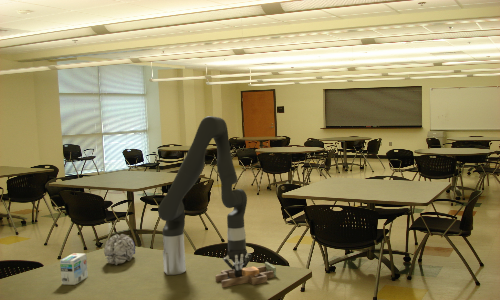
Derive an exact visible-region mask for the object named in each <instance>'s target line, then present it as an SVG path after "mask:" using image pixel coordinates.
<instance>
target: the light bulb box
mask: <svg viewBox="0 0 500 300" xmlns="http://www.w3.org/2000/svg"><path fill="white" fill-rule="evenodd" d="M87 259H88V257H87V253H81V252H80V253H76V252H75V253H74V252H73V253H71V254H70V255H68V256H65V257H64V258H61V259H60V260H59V265H60V266H59V267H60V278H61V285H69V286H71V285H74V286H75V285H77V284H79V283H80V282H82V281H84V280H85V279H87V278H89V276H88V275H89V273H88V261H87Z"/></svg>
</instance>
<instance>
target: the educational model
mask: <svg viewBox="0 0 500 300" xmlns="http://www.w3.org/2000/svg"><path fill="white" fill-rule="evenodd" d="M104 245H105V246H104V250H103V253H104V256H105V257H106V258H105V259H106V260H107V261H106V262H107V263H108V264H111V265H113V264H114V265H116V266H117V265H118V264H119V265H120V264H124V263H125V262H126V261H129V262H130V261H131V260H132V259H133V256H134V255H135V254H136V245H135V242H134V240H133V238H132V237H130V236H128V235H127V234H124V233H121V234H118V233H115V234H114V235H112V236H111V237H110V238H109V239H107V240H106V242H105V244H104Z"/></svg>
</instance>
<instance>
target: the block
mask: <svg viewBox="0 0 500 300" xmlns="http://www.w3.org/2000/svg"><path fill="white" fill-rule="evenodd" d="M256 267H257V266H253V265H252V266H249V267H244V268H242V276H247V275H252V276H253V277H255V275H256V274H258V273H259V269H257V268H256Z"/></svg>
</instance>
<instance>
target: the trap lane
mask: <svg viewBox="0 0 500 300" xmlns="http://www.w3.org/2000/svg"><path fill="white" fill-rule="evenodd" d="M255 267H256V268H257V269H259V273H258V274H256V275H255V277H253V276H252V275H247V276H242V277H237V278H236V277H235V271H234V270H232V269H231V268H229V269H224V270H220V273H218V274H215V276H214V277H215V282H216V283H217V282H221V287H222V288H227V287H231V286H232V287H233V286H236V285H237V286H238V285H242V284H246V283H250V284H251V285H252V286H254V285H259V284H263V283H268V279H271V278H277V267H276V266H274V265H273V264H272V263H269V262H268V261H265V262H264V265H261V266H255Z"/></svg>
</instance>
